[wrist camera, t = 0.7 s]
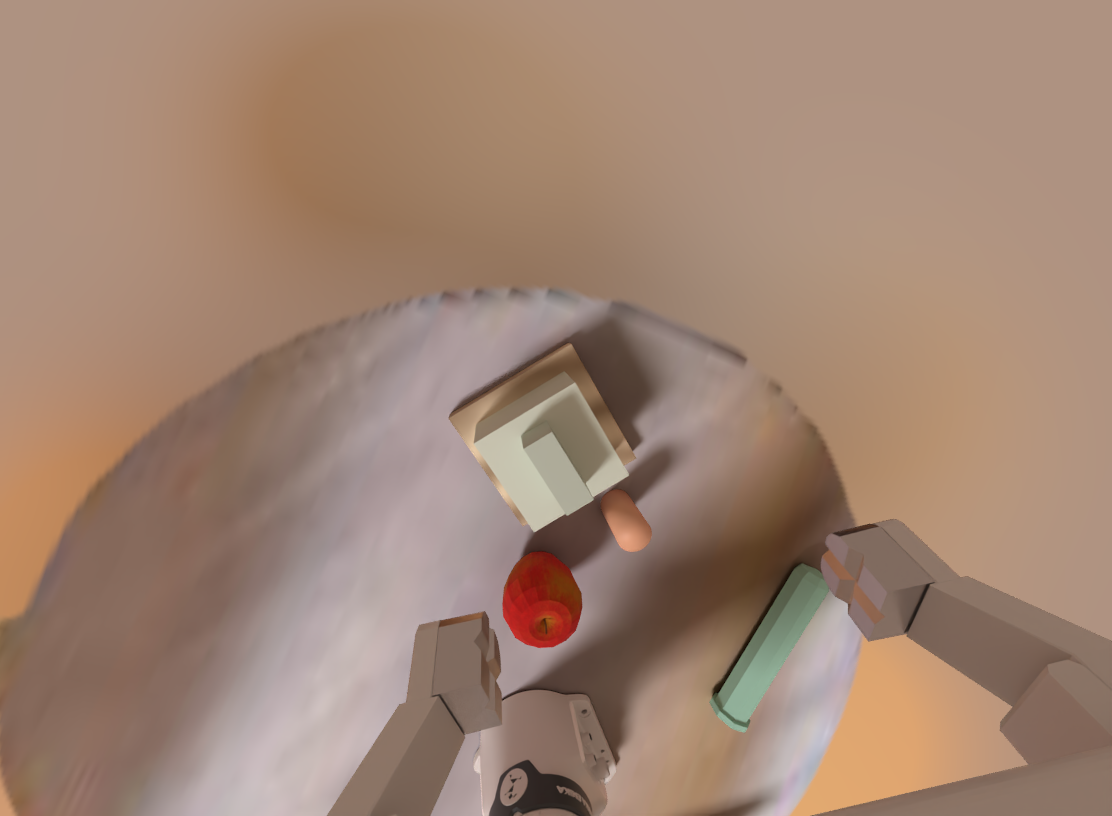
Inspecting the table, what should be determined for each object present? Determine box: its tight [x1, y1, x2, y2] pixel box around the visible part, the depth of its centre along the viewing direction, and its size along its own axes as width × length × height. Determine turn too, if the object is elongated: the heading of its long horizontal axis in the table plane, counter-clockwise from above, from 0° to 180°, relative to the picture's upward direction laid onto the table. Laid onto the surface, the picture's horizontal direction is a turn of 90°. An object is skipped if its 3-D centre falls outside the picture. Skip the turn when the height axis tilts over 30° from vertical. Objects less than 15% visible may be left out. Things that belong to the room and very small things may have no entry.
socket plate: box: [449, 342, 636, 526], centre depth 52 cm, size 16×16×4 cm
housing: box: [474, 371, 629, 532], centre depth 47 cm, size 12×12×11 cm
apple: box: [503, 551, 582, 648], centre depth 53 cm, size 9×9×12 cm
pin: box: [600, 489, 652, 552], centre depth 54 cm, size 4×4×8 cm
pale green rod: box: [709, 563, 829, 733], centre depth 64 cm, size 6×6×25 cm
